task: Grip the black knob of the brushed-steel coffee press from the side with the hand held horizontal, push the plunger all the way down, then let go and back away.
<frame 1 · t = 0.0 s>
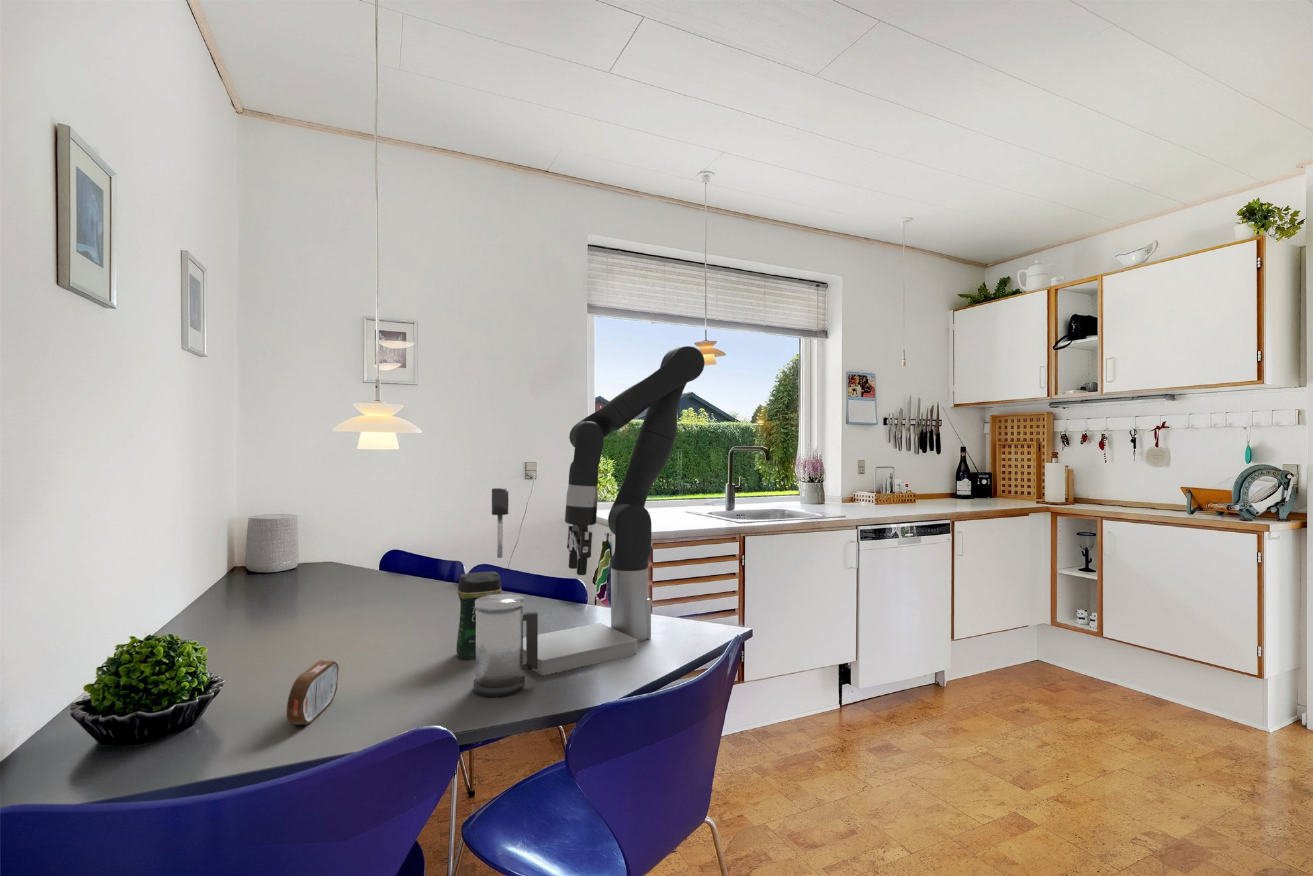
hand: (577, 571, 152), 17 cm above the table, tool pointing down, fingers open, 8 cm apart
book: (572, 657, 144), on the table
tin: (314, 716, 112), on the table
coffee jar: (479, 655, 144), on the table
plunger: (500, 523, 124), point 32 cm above the table, slide at 8.0 cm
carafe: (499, 687, 124), on the table
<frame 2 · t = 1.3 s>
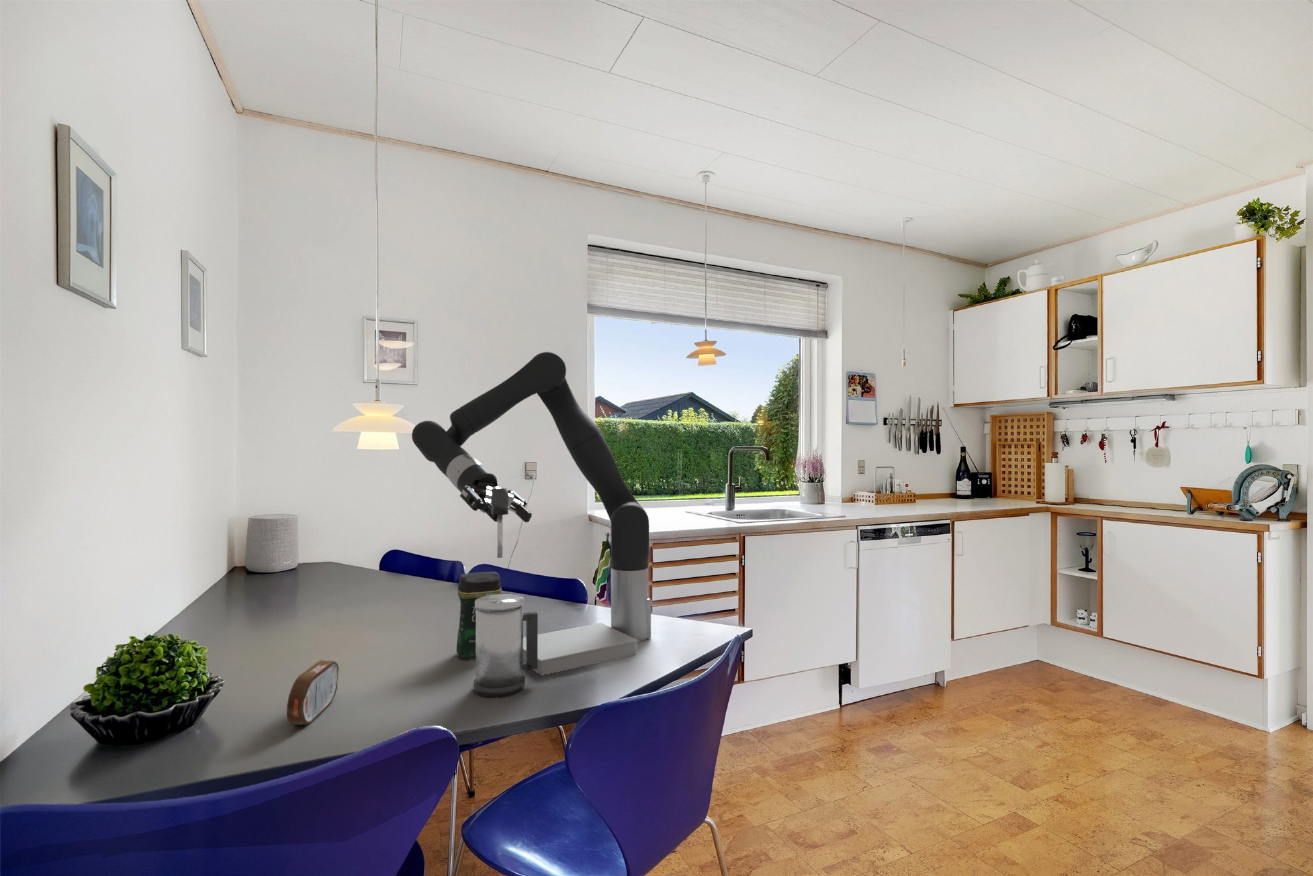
hand: (514, 518, 131), 32 cm above the table, tool tilted 60°, fingers open, 8 cm apart
nothing on the table moved.
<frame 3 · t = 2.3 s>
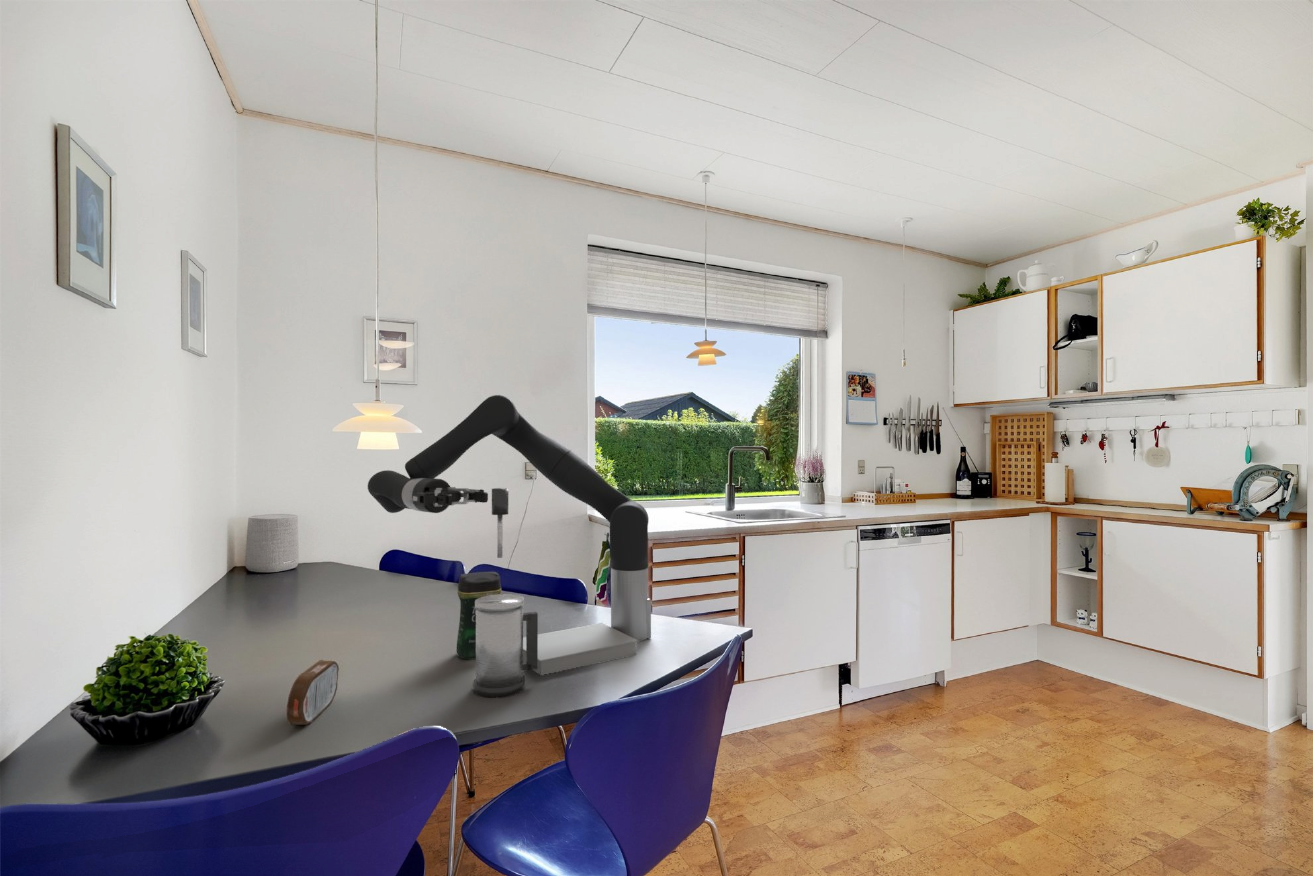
hand: (468, 498, 131), 36 cm above the table, tool horizontal, fingers open, 8 cm apart
nothing on the table moved.
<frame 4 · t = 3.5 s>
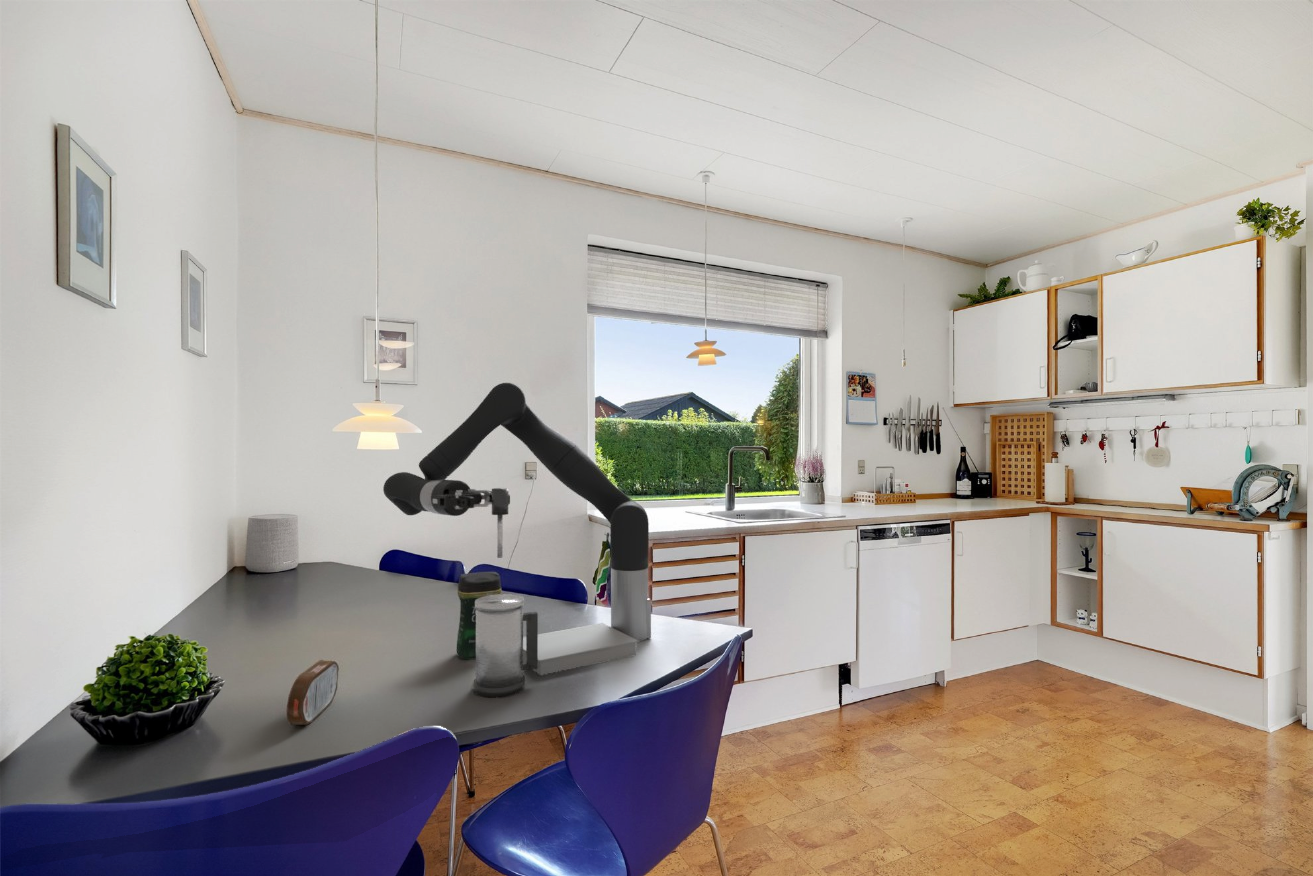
hand: (491, 501, 126), 36 cm above the table, tool horizontal, fingers open, 8 cm apart
nothing on the table moved.
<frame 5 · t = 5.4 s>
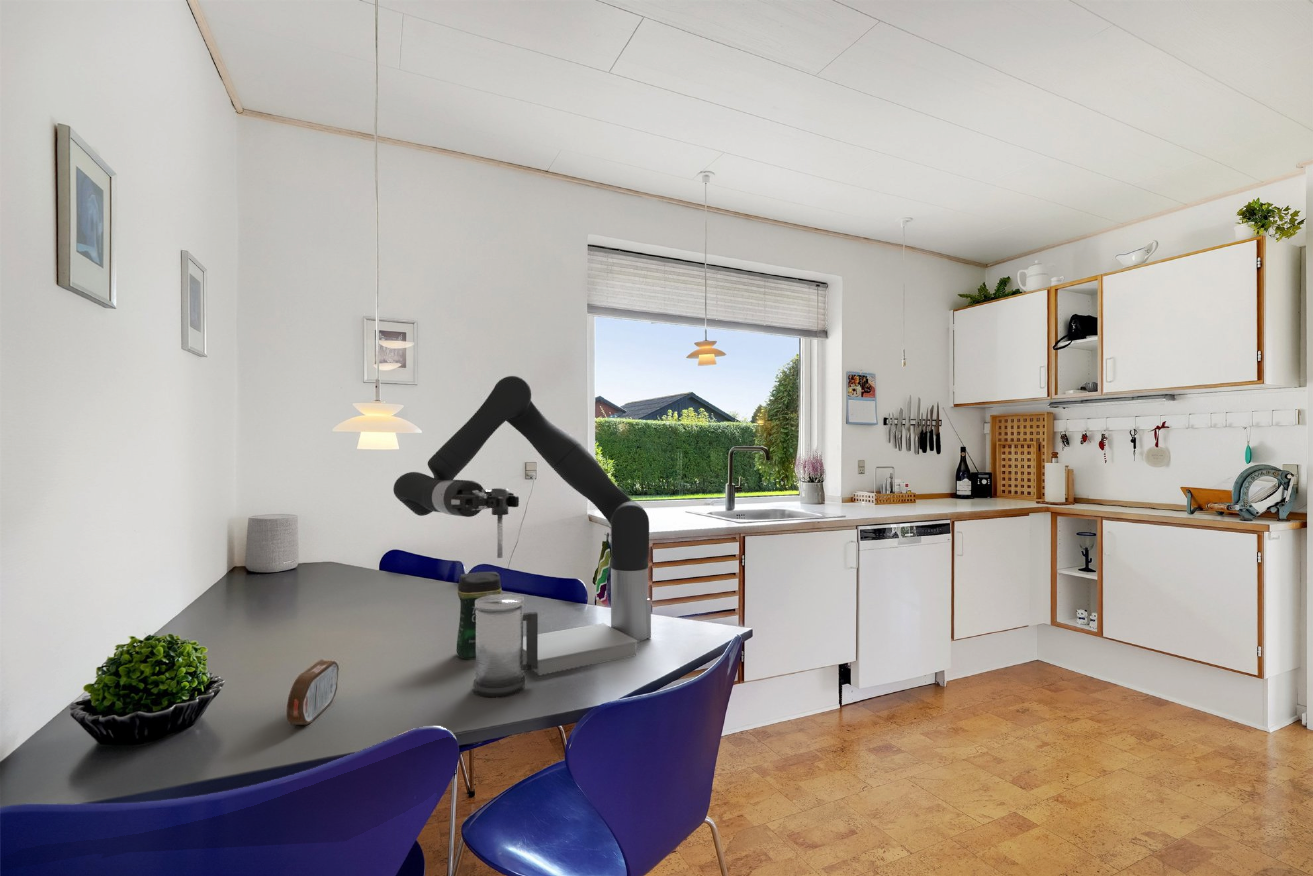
hand: (509, 502, 122), 36 cm above the table, tool horizontal, fingers closed on plunger, 3 cm apart
plunger: (500, 523, 124), point 32 cm above the table, slide at 8.0 cm, touching gripper
everything else where it was.
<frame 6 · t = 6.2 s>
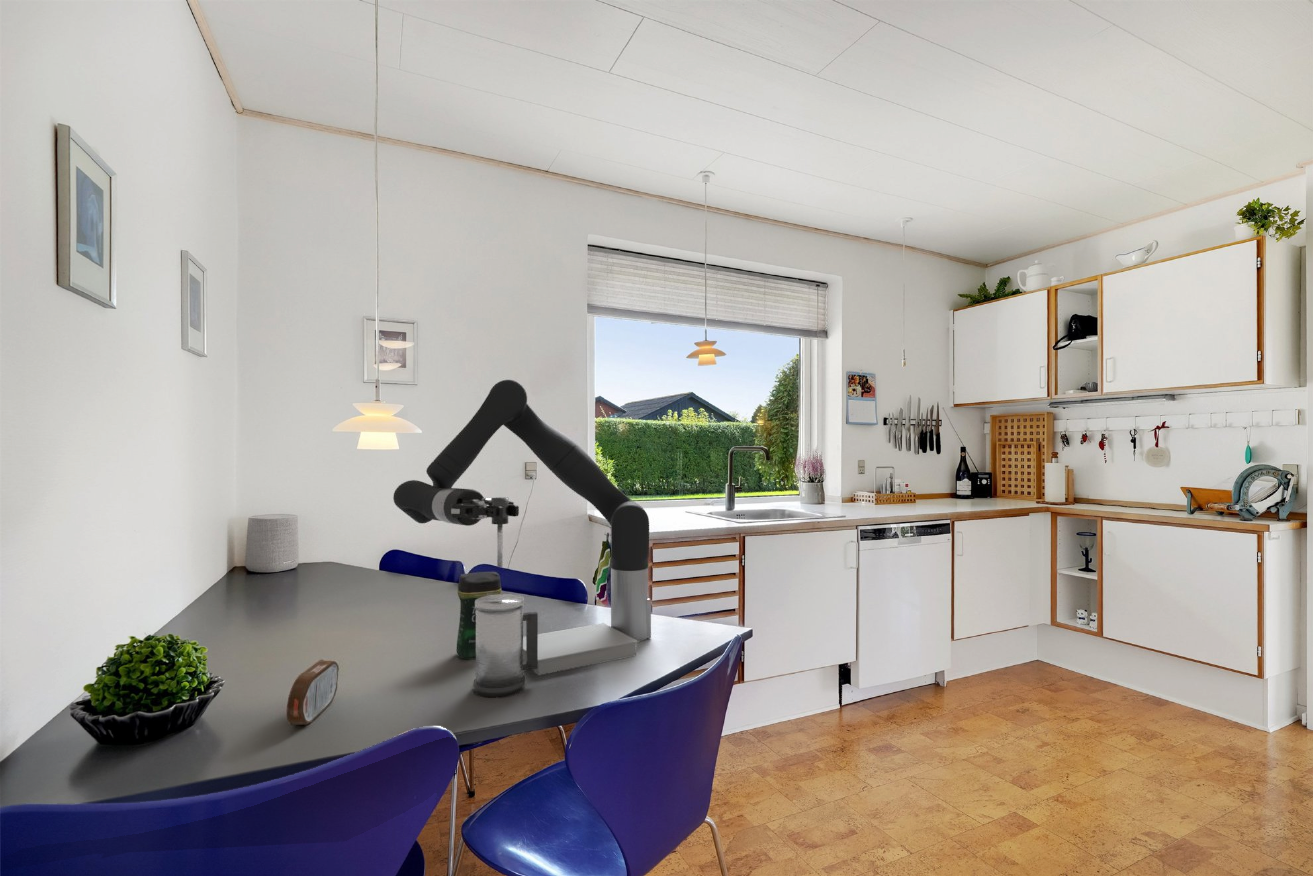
hand: (509, 511, 122), 35 cm above the table, tool horizontal, fingers closed on plunger, 3 cm apart
plunger: (500, 532, 124), point 30 cm above the table, slide at 6.2 cm, touching gripper
everything else where it was.
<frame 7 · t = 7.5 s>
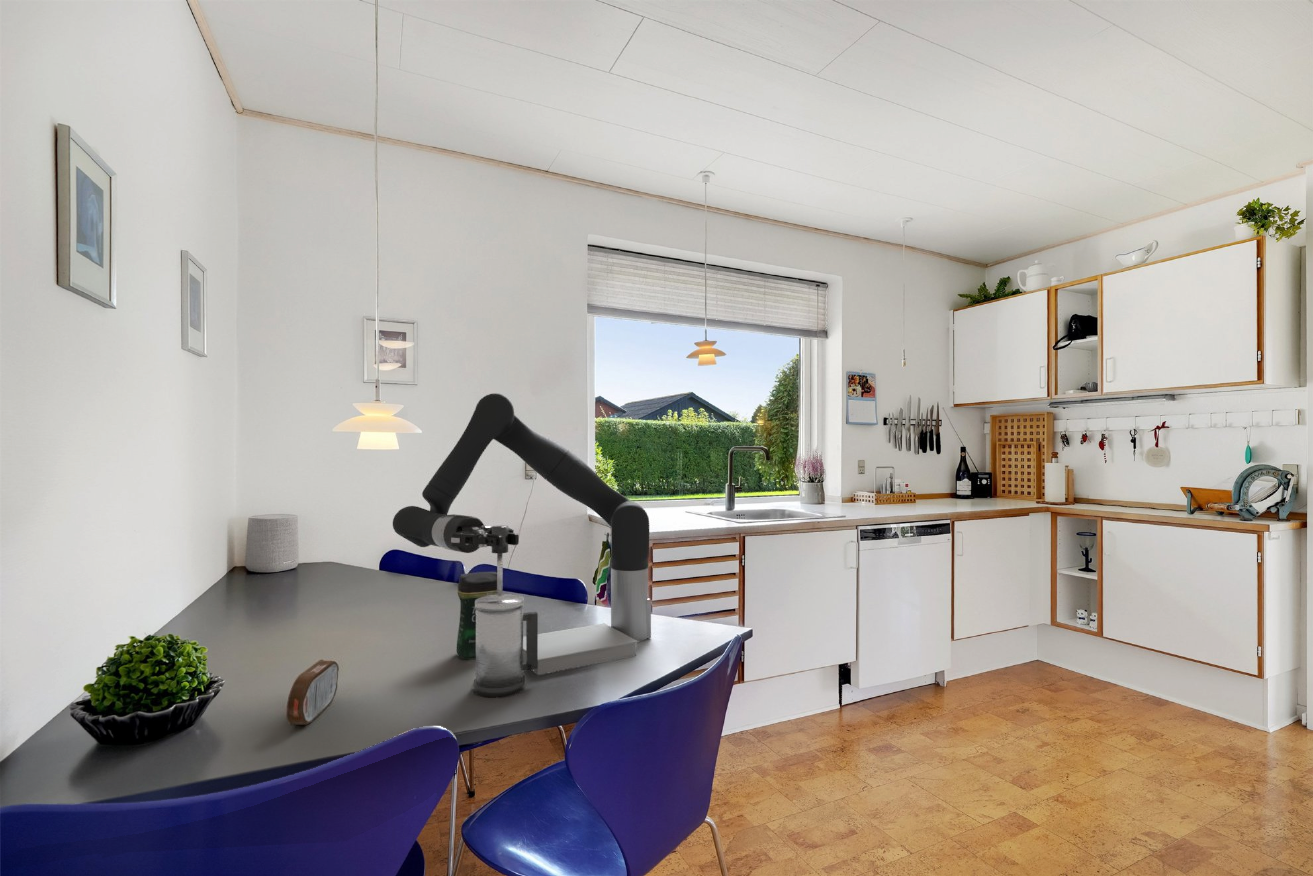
hand: (509, 540, 122), 29 cm above the table, tool horizontal, fingers closed on plunger, 3 cm apart
plunger: (499, 561, 124), point 25 cm above the table, slide at 0.5 cm, touching gripper
everything else where it was.
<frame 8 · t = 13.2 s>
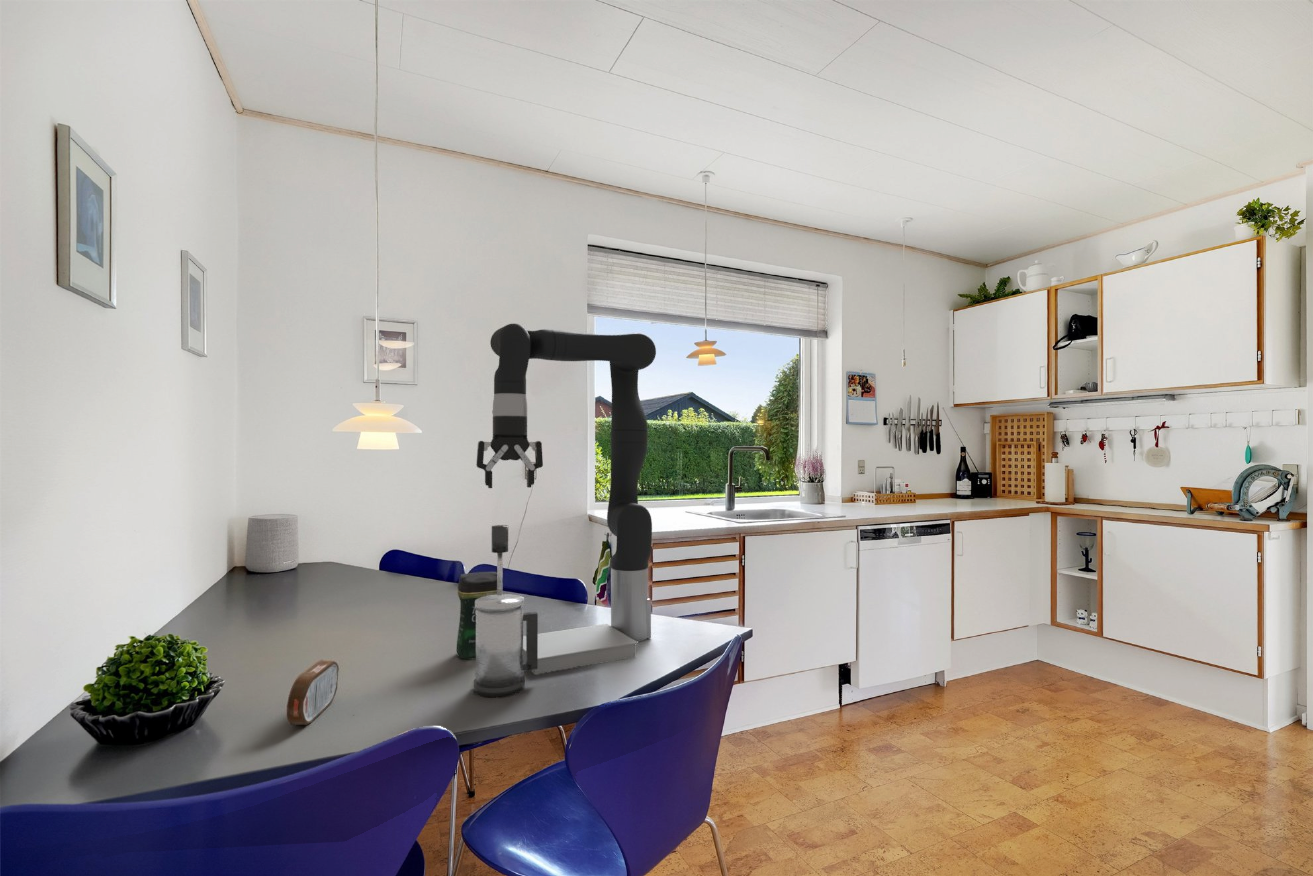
hand: (509, 487, 141), 38 cm above the table, tool pointing down, fingers open, 8 cm apart
plunger: (499, 560, 124), point 25 cm above the table, slide at 0.7 cm
everything else where it was.
at the end: plunger slide at 0.7 cm; the gripper is holding nothing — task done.
